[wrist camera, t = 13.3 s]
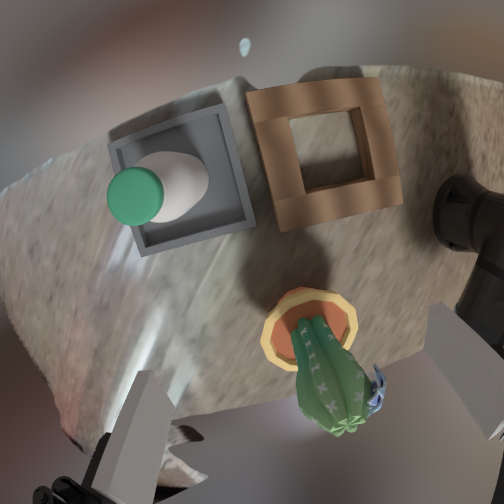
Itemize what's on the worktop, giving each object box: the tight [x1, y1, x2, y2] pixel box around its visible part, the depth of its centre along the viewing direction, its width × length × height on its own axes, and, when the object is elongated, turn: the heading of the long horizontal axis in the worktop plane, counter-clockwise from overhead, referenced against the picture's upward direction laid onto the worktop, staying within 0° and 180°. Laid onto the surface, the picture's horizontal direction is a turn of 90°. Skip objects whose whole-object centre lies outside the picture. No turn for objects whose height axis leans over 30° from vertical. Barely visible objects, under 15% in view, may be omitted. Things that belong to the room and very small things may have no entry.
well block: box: [245, 77, 403, 233], centre depth 36 cm, size 20×20×4 cm
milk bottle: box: [107, 151, 209, 226], centre depth 28 cm, size 8×8×20 cm
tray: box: [107, 103, 257, 257], centre depth 37 cm, size 18×18×3 cm
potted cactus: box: [260, 287, 386, 436], centre depth 34 cm, size 15×15×25 cm
